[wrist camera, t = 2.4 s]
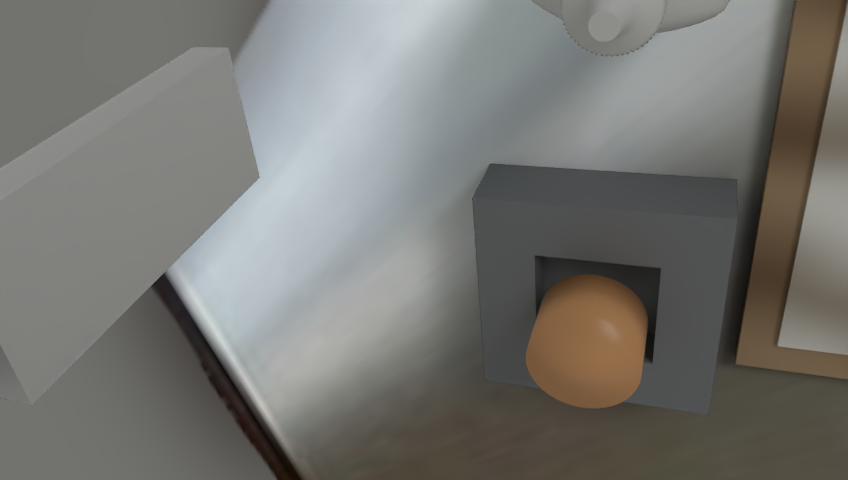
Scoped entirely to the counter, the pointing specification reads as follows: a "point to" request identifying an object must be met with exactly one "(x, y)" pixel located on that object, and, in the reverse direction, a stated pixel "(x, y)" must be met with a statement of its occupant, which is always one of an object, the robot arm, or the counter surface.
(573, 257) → the button housing
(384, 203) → the counter surface
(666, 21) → the eye dropper bottle
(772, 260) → the brown picture frame
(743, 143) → the counter surface
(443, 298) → the counter surface
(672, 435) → the counter surface
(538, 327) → the button
